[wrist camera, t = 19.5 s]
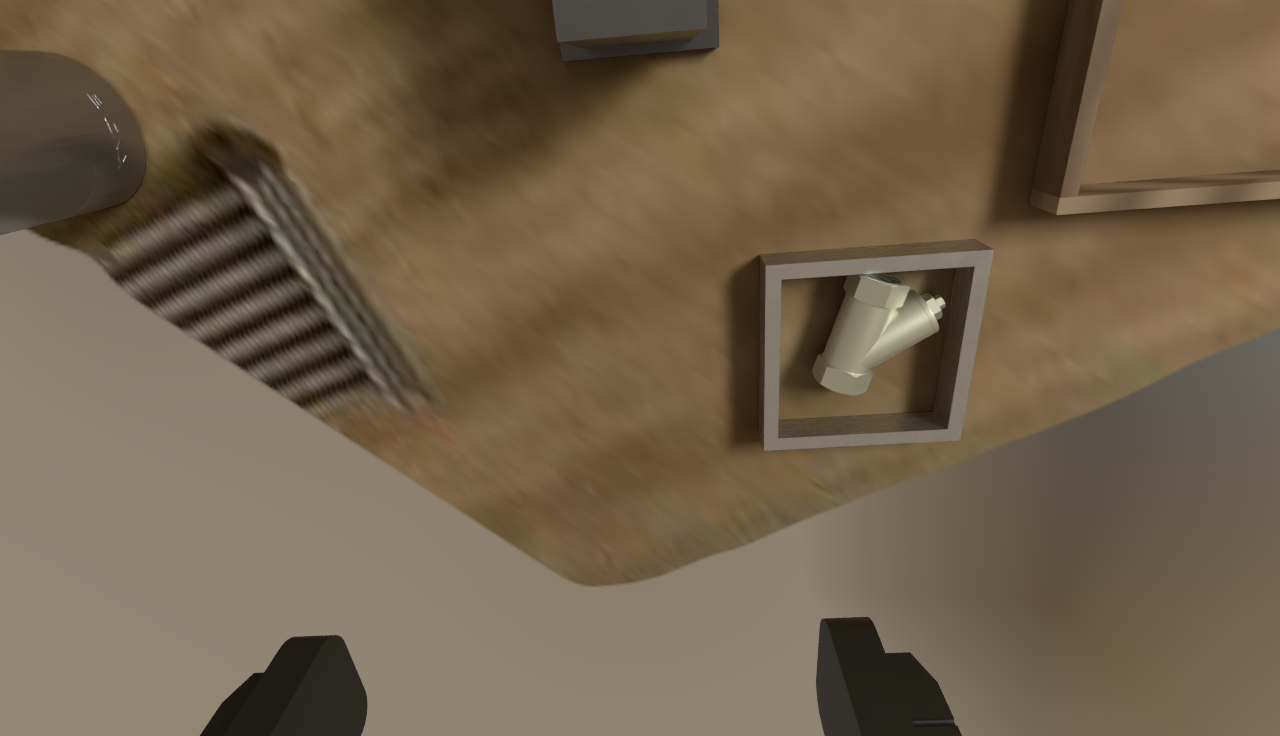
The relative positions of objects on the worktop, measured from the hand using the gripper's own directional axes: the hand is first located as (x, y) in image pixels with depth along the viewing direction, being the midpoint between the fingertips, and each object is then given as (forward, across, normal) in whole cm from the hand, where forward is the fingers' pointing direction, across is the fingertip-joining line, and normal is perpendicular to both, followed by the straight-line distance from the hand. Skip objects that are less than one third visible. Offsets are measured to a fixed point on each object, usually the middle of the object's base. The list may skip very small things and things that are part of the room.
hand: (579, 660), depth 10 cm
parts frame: (+33, -15, +10) cm, 38 cm away
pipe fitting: (+34, -16, +9) cm, 38 cm away
